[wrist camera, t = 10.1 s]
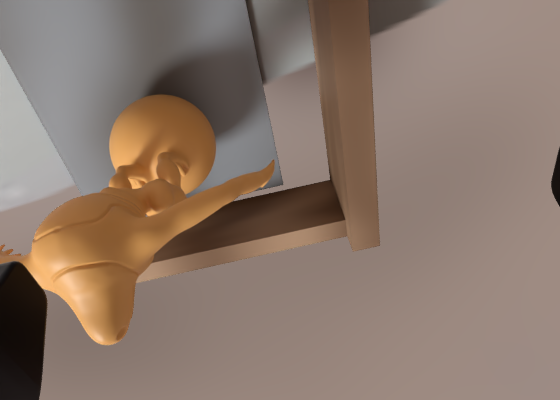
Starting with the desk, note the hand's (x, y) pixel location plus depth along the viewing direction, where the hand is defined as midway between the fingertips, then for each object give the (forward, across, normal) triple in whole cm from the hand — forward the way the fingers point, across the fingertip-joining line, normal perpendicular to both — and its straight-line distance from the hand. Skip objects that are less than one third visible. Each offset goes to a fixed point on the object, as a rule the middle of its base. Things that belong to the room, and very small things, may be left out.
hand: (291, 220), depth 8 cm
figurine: (+12, +4, +3) cm, 14 cm away
